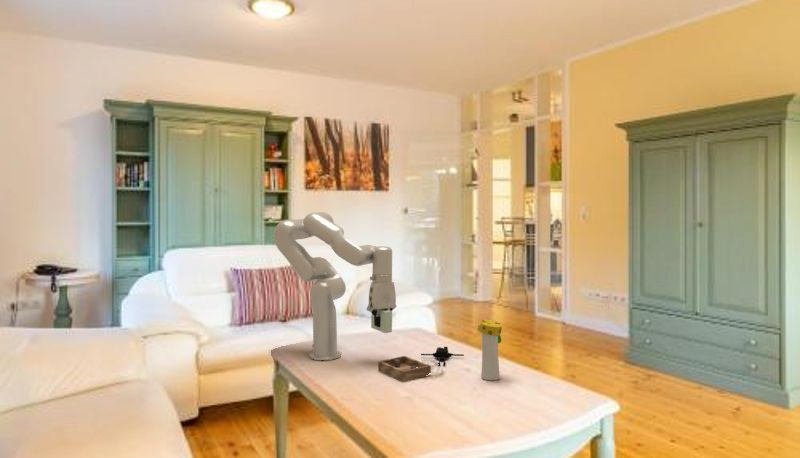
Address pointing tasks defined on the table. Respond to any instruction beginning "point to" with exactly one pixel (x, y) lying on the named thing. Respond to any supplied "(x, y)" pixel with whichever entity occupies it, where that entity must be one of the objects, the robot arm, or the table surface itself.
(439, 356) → the toy
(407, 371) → the brown wooden shallow tray
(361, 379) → the table surface
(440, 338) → the table surface
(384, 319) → the light green rectangular block
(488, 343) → the toy
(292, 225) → the robot arm
